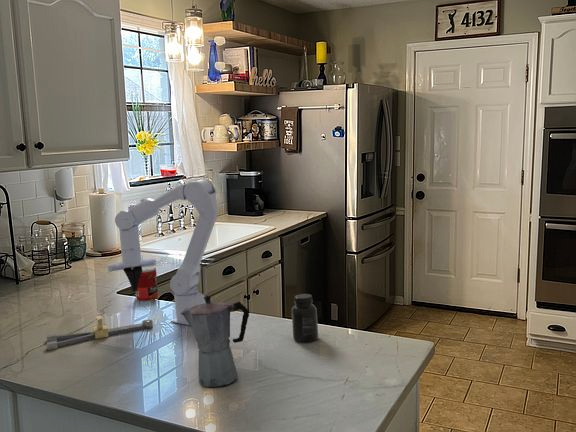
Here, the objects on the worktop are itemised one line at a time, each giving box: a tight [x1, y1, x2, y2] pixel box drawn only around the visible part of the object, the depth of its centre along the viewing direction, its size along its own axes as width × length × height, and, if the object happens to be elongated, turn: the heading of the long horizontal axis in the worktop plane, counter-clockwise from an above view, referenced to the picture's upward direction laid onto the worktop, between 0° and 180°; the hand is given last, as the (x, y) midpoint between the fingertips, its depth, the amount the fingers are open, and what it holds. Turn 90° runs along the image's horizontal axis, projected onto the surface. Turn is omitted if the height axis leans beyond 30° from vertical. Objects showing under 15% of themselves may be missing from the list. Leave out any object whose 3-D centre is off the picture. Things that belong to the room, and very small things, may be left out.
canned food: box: [135, 266, 159, 302], centre depth 205 cm, size 8×8×11 cm
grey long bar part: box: [46, 318, 154, 351], centre depth 167 cm, size 30×9×2 cm, turn 113°
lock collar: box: [92, 315, 109, 340], centre depth 166 cm, size 4×5×5 cm, turn 23°
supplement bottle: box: [291, 293, 319, 344], centre depth 154 cm, size 7×7×12 cm
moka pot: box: [181, 295, 250, 388], centre depth 130 cm, size 10×15×20 cm, turn 95°
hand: (134, 290), depth 179 cm, fingers closed
